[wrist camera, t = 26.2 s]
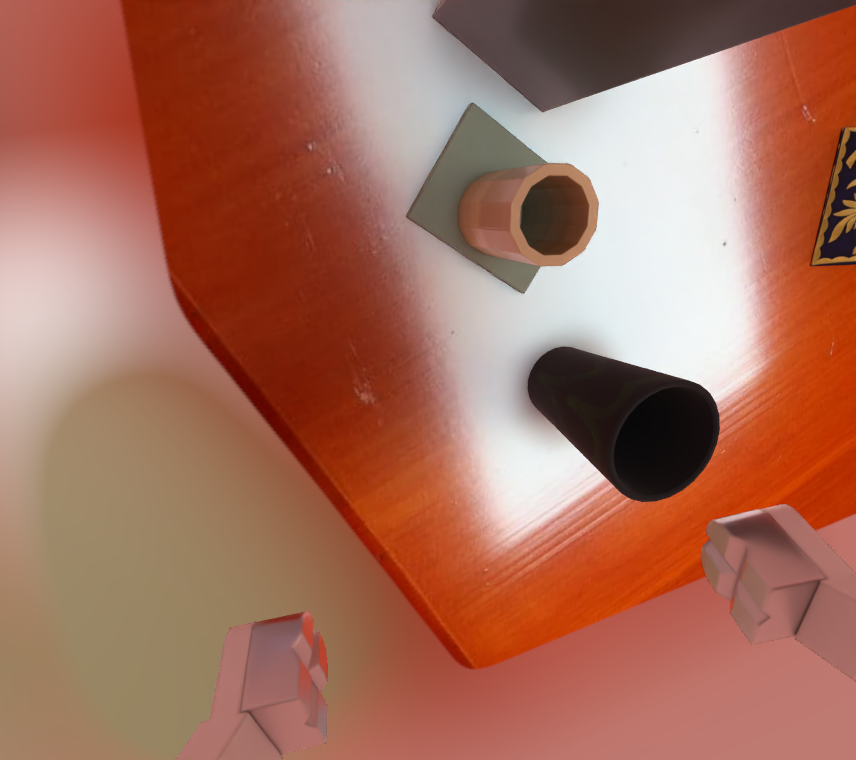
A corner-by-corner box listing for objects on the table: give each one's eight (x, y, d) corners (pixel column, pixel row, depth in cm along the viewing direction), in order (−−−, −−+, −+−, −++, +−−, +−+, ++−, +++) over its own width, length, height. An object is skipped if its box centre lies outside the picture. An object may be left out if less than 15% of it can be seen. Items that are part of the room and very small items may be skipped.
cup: (614, 395, 43) (732, 458, 32) (536, 443, 43) (631, 525, 32) (584, 315, 40) (704, 355, 29) (500, 365, 39) (591, 426, 29)
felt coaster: (405, 216, 34) (408, 216, 34) (469, 103, 33) (472, 101, 33) (520, 292, 38) (524, 293, 38) (580, 193, 37) (585, 193, 37)
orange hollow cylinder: (444, 230, 35) (492, 236, 27) (482, 156, 34) (543, 142, 27) (506, 267, 37) (566, 282, 29) (543, 198, 36) (615, 196, 29)
